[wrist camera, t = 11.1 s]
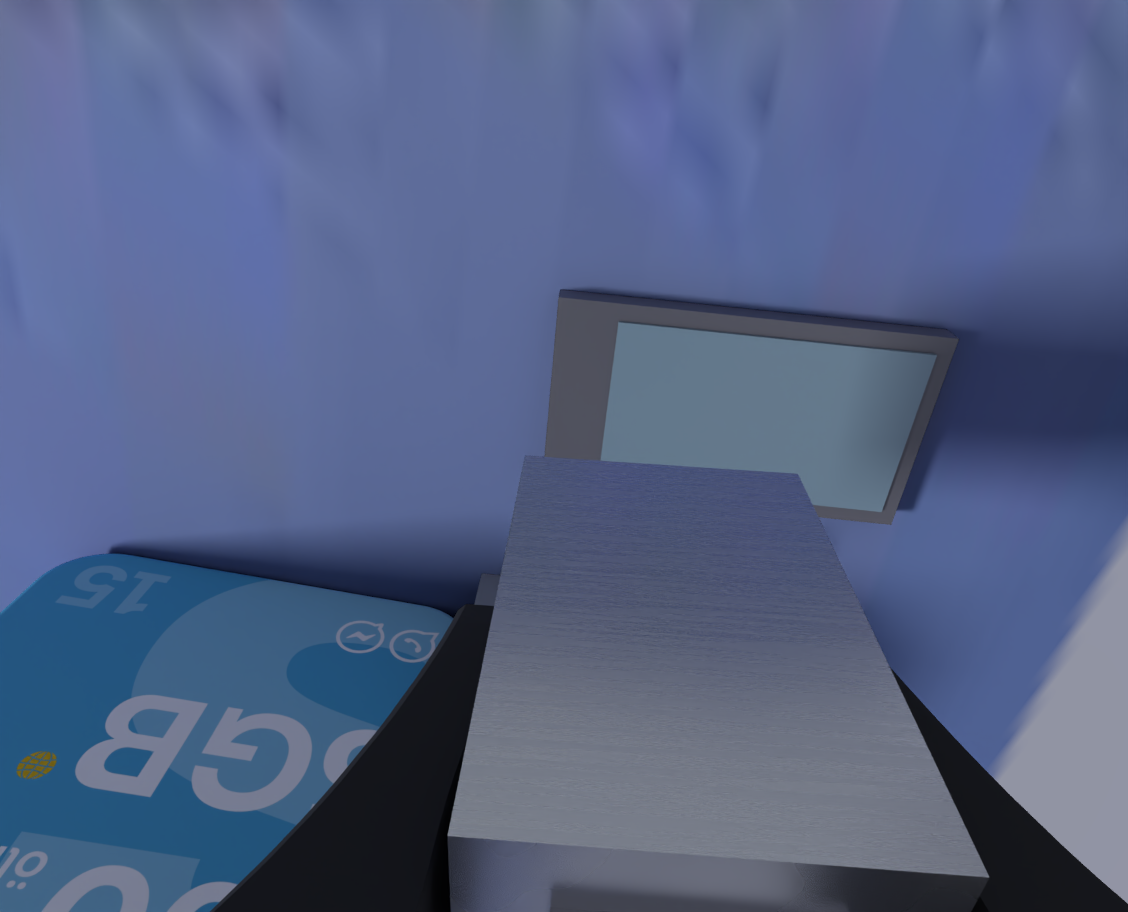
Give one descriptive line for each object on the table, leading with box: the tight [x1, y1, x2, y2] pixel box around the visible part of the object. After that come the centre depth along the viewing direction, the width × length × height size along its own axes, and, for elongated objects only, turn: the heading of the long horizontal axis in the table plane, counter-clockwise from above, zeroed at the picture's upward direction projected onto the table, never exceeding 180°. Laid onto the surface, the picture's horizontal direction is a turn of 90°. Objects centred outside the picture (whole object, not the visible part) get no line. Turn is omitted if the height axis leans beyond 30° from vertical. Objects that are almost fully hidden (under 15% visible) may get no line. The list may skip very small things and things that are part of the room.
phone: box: [545, 290, 959, 525], centre depth 18 cm, size 5×9×1 cm, turn 86°
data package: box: [0, 554, 453, 912], centre depth 17 cm, size 12×4×12 cm, turn 80°
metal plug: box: [447, 456, 989, 912], centre depth 9 cm, size 4×4×6 cm
